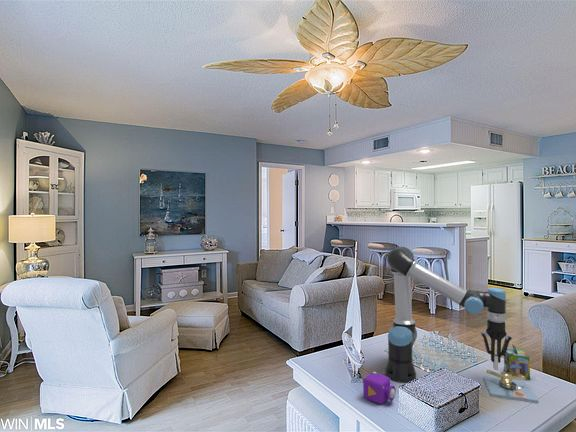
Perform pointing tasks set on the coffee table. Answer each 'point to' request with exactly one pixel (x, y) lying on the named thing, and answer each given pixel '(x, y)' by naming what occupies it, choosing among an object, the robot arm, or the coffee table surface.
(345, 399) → the coffee table surface
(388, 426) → the coffee table surface
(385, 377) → the toy camera
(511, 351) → the chalk box
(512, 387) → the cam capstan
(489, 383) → the board
